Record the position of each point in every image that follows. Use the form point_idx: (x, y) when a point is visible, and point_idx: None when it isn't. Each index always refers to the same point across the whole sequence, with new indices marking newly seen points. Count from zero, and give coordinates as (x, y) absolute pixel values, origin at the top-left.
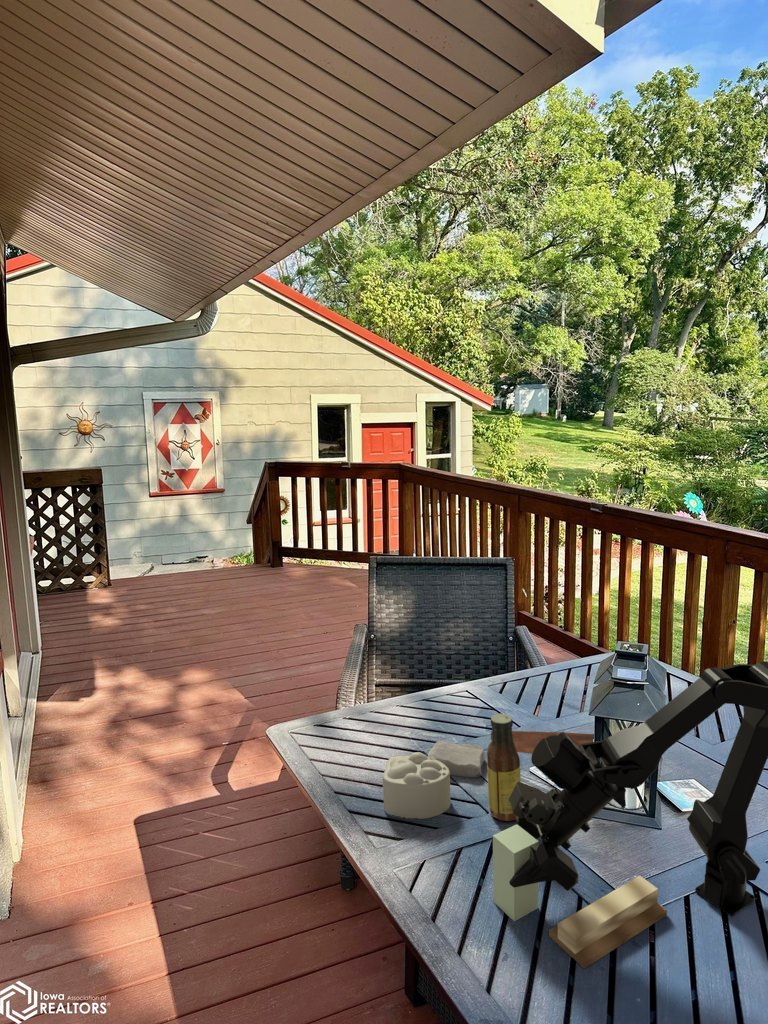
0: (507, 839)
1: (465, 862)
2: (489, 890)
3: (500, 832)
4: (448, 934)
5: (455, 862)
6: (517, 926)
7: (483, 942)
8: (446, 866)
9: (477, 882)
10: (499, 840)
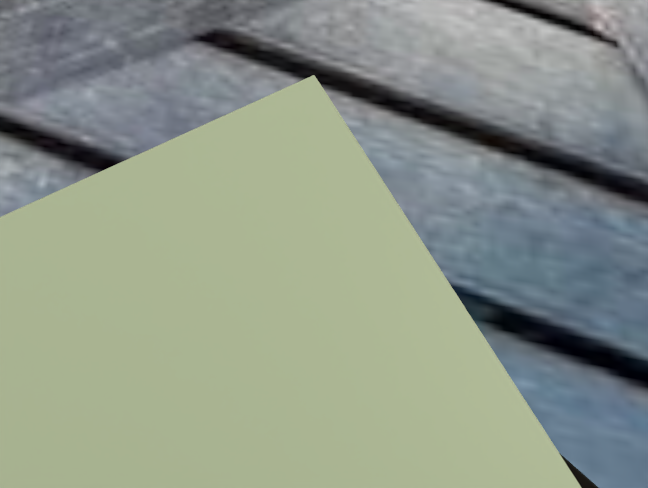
0: (63, 446)
1: (620, 240)
2: None
3: (424, 290)
4: (107, 88)
5: (614, 186)
6: None
7: None
8: (577, 137)
9: (458, 282)
10: (85, 197)
